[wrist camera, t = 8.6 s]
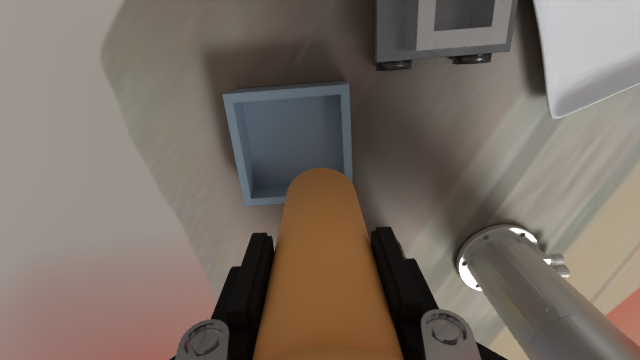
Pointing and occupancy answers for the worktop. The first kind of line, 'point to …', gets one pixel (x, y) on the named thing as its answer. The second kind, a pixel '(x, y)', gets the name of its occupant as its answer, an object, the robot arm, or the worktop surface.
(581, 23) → the salad plate
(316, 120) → the tray
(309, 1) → the worktop surface
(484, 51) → the trolley
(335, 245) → the pin
